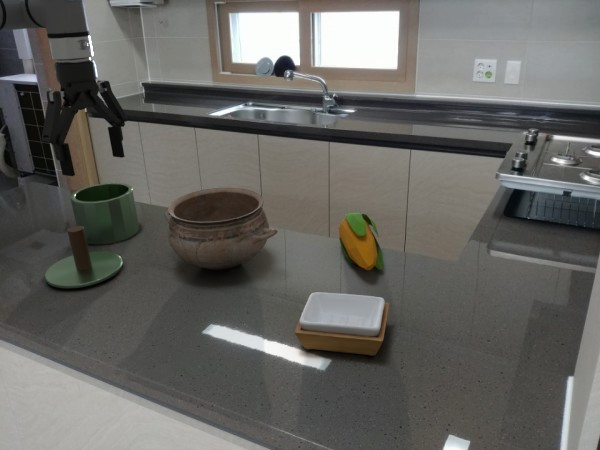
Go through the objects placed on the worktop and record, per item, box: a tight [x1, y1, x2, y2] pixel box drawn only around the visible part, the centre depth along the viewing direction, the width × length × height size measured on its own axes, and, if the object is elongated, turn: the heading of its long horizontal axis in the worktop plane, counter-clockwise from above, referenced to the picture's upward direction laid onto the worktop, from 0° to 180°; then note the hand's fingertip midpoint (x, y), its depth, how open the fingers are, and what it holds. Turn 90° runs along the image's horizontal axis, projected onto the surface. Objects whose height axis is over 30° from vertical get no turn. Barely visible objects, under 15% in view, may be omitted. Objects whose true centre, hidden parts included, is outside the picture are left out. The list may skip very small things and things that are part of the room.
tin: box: [70, 182, 140, 246], centre depth 117 cm, size 13×13×10 cm
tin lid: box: [44, 225, 123, 289], centre depth 100 cm, size 14×14×9 cm
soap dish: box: [294, 291, 390, 357], centre depth 79 cm, size 12×10×5 cm
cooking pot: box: [164, 187, 278, 272], centre depth 101 cm, size 25×19×12 cm
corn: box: [338, 212, 384, 271], centre depth 101 cm, size 7×8×20 cm
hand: (95, 165), depth 112 cm, fingers open, 13 cm apart
